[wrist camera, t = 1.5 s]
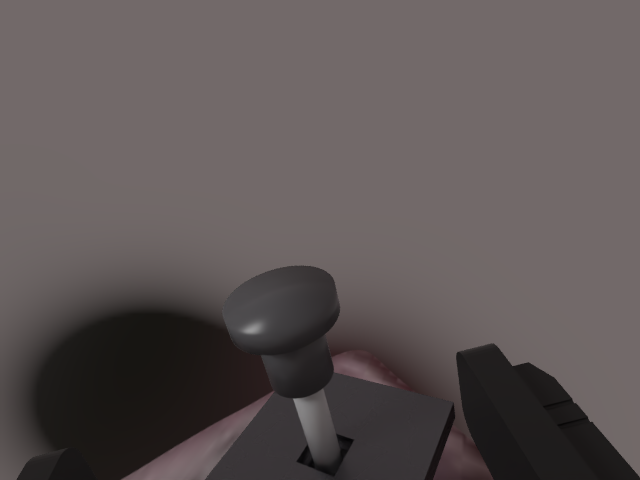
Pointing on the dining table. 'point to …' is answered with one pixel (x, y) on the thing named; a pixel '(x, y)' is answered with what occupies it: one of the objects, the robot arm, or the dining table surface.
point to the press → (345, 436)
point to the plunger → (292, 345)
